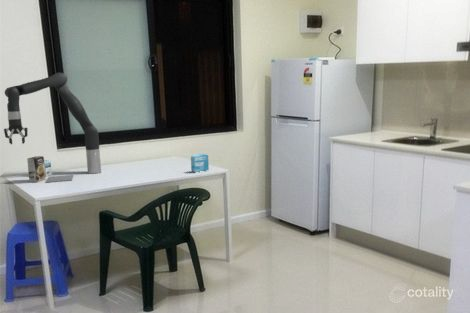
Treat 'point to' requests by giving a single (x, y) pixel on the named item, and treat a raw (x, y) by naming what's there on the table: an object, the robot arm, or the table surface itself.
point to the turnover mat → (59, 178)
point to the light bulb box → (47, 167)
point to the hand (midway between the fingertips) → (17, 143)
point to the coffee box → (36, 169)
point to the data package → (199, 163)
